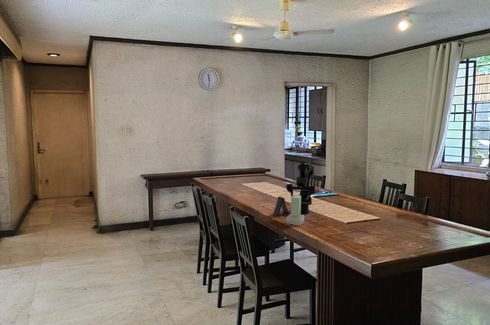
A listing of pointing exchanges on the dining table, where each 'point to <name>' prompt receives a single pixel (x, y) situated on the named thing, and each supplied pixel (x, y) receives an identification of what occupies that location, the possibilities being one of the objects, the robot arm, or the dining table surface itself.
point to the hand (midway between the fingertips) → (298, 199)
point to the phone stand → (278, 206)
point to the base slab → (294, 223)
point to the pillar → (295, 206)
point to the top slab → (295, 218)
